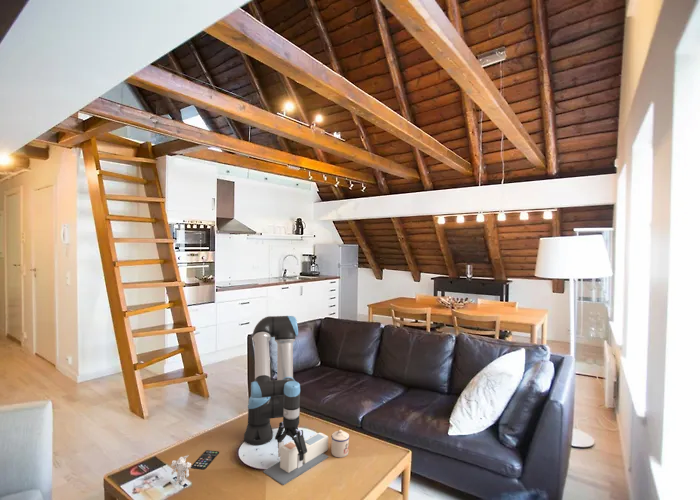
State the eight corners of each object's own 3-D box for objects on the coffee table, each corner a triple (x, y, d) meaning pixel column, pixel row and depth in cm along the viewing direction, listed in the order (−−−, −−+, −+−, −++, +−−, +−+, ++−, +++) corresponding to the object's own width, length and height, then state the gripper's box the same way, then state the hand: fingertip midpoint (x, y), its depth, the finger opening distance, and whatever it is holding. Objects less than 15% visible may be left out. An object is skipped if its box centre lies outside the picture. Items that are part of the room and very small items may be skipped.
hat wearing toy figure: (192, 481, 168) (193, 454, 167) (187, 487, 164) (187, 459, 163) (173, 478, 169) (174, 452, 169) (168, 484, 165) (168, 457, 165)
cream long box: (294, 459, 185) (294, 445, 185) (319, 445, 199) (319, 431, 198) (303, 464, 181) (303, 449, 181) (327, 449, 195) (328, 435, 195)
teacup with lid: (347, 459, 188) (347, 436, 188) (329, 456, 190) (329, 433, 189) (351, 446, 200) (351, 424, 200) (334, 444, 201) (334, 422, 201)
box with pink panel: (279, 467, 178) (280, 446, 178) (291, 461, 184) (291, 440, 183) (288, 472, 174) (289, 451, 174) (299, 466, 180) (300, 445, 179)
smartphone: (220, 451, 191) (204, 469, 176) (220, 452, 191) (204, 470, 176) (206, 449, 192) (189, 467, 177) (206, 451, 192) (189, 468, 177)
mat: (263, 472, 176) (263, 470, 176) (308, 446, 198) (308, 445, 198) (283, 485, 167) (283, 484, 167) (328, 457, 189) (328, 456, 189)
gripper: (268, 410, 183) (267, 454, 184) (303, 427, 167) (302, 475, 168) (280, 405, 189) (279, 447, 189) (315, 421, 173) (314, 468, 174)
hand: (290, 461), depth 179 cm, fingers open, 12 cm apart
